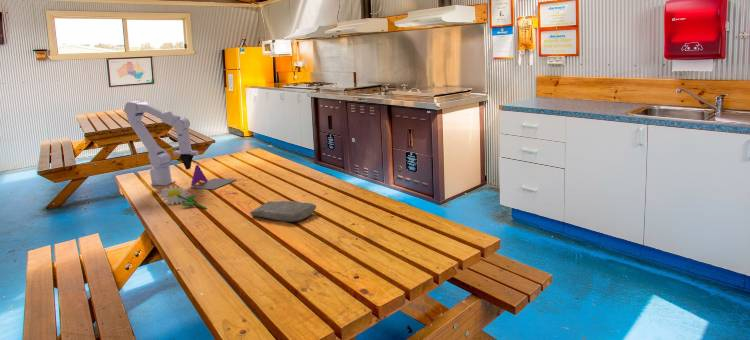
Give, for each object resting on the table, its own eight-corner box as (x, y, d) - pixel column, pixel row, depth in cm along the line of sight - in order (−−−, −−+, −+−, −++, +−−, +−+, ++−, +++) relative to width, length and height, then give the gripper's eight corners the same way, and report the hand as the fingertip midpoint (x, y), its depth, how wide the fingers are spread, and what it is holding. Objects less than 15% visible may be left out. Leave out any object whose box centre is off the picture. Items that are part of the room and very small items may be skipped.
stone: (319, 203, 204) (296, 214, 191) (319, 213, 205) (297, 226, 192) (266, 197, 216) (242, 208, 203) (268, 207, 217) (243, 219, 204)
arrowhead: (201, 192, 264) (187, 182, 257) (199, 191, 265) (185, 181, 258) (211, 175, 268) (197, 165, 261) (209, 175, 269) (196, 164, 262)
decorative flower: (219, 209, 225) (180, 192, 243) (218, 199, 223) (179, 182, 241) (193, 220, 216) (155, 200, 233) (192, 209, 214) (153, 190, 232)
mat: (190, 188, 255) (190, 187, 255) (214, 179, 271) (214, 178, 271) (213, 189, 250) (213, 188, 250) (236, 180, 266) (236, 179, 266)
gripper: (167, 143, 260) (171, 170, 263) (190, 144, 255) (194, 171, 258) (177, 141, 267) (181, 167, 270) (200, 141, 261) (203, 167, 264)
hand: (188, 168), depth 264 cm, fingers closed
